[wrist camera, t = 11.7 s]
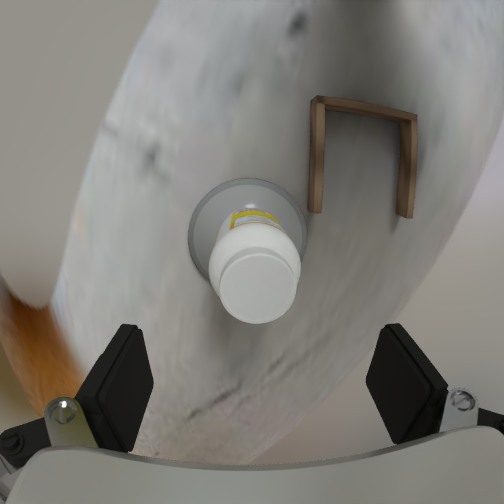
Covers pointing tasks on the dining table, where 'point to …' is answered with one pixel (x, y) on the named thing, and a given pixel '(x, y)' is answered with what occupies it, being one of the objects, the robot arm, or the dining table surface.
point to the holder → (406, 119)
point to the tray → (236, 198)
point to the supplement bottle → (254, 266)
